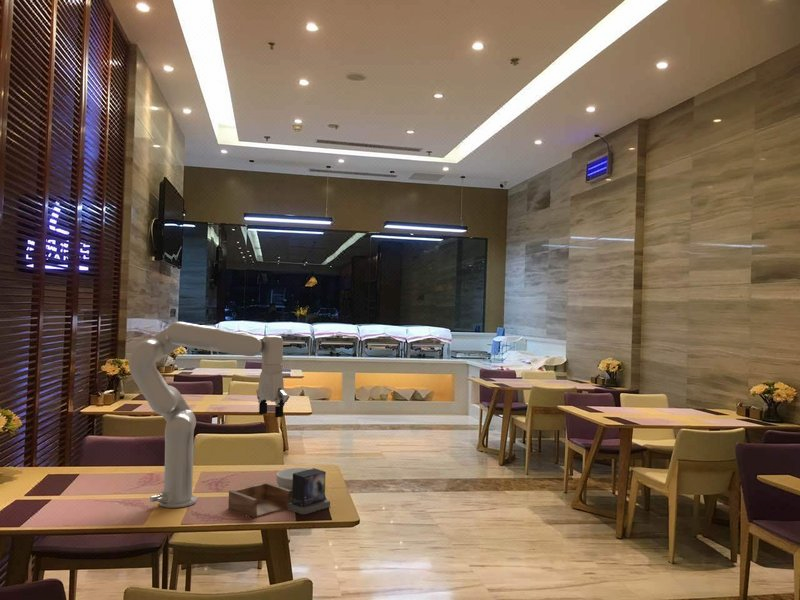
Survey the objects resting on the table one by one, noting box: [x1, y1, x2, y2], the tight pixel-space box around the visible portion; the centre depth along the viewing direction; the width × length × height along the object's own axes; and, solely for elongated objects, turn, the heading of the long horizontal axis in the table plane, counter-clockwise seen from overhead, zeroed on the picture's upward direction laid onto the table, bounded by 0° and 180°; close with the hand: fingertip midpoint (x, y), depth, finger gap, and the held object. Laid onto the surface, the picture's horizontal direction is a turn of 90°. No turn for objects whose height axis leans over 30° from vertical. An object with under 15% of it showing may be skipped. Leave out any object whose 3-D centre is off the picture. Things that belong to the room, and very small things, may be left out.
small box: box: [292, 468, 327, 507], centre depth 213 cm, size 11×6×10 cm, turn 141°
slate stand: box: [286, 499, 331, 516], centre depth 213 cm, size 12×9×2 cm
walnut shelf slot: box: [228, 481, 292, 519], centre depth 211 cm, size 16×14×6 cm
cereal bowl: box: [276, 467, 310, 490], centre depth 232 cm, size 17×17×7 cm
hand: (270, 415), depth 224 cm, fingers open, 9 cm apart
